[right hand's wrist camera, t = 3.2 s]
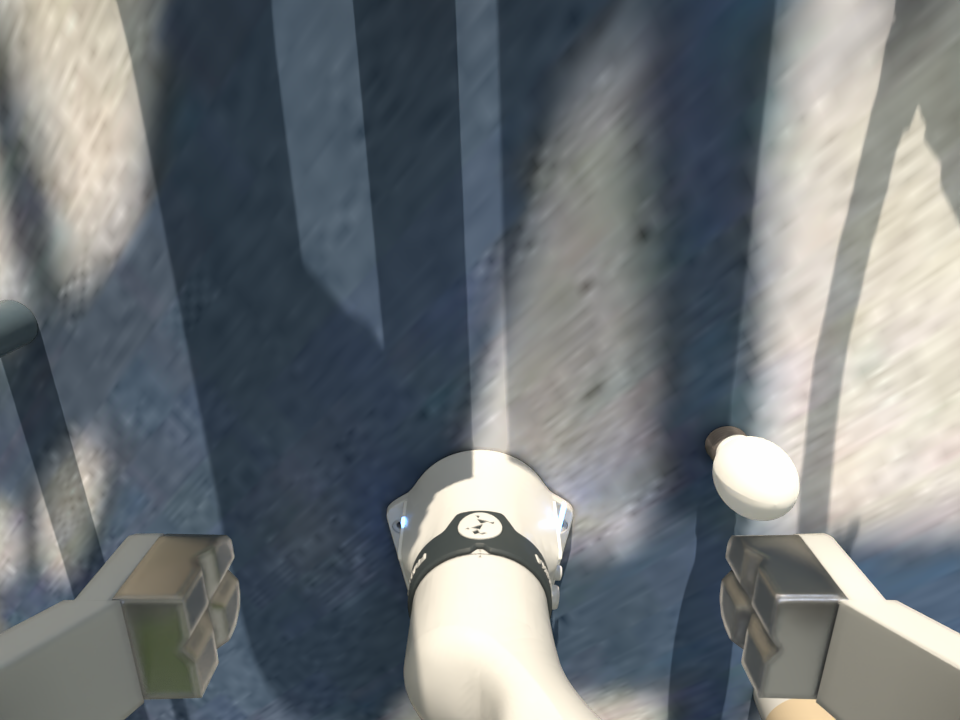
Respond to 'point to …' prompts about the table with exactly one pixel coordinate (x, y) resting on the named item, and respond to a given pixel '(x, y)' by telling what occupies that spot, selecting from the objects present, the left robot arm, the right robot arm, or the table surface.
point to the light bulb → (752, 474)
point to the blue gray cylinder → (15, 326)
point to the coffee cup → (790, 709)
